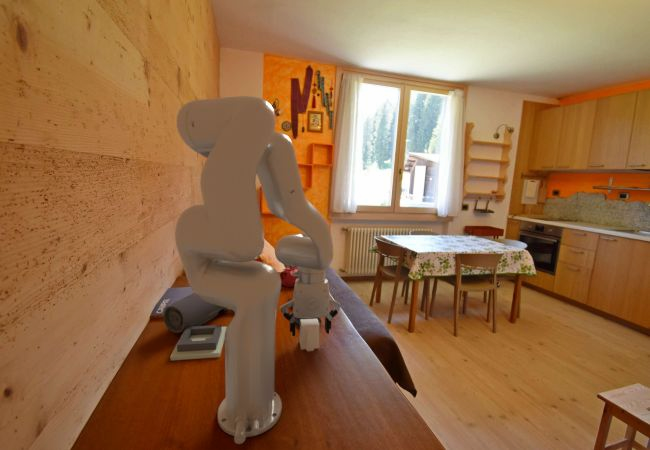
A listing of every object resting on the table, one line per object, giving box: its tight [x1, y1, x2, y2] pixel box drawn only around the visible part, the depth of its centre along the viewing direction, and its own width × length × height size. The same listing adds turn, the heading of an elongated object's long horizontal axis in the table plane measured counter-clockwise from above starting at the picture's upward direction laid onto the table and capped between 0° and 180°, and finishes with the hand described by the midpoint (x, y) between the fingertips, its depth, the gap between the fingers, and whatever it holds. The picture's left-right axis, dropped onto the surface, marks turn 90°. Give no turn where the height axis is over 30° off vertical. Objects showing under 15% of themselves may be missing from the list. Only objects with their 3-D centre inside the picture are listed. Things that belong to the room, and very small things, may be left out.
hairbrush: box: [287, 298, 322, 327], centre depth 106 cm, size 8×4×25 cm
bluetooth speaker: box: [163, 292, 226, 333], centre depth 97 cm, size 23×9×10 cm, turn 159°
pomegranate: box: [279, 265, 298, 288], centre depth 133 cm, size 10×10×9 cm
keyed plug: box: [299, 319, 321, 352], centre depth 85 cm, size 5×5×7 cm
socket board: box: [169, 324, 227, 361], centre depth 84 cm, size 14×12×3 cm
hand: (310, 332), depth 86 cm, fingers open, 9 cm apart
